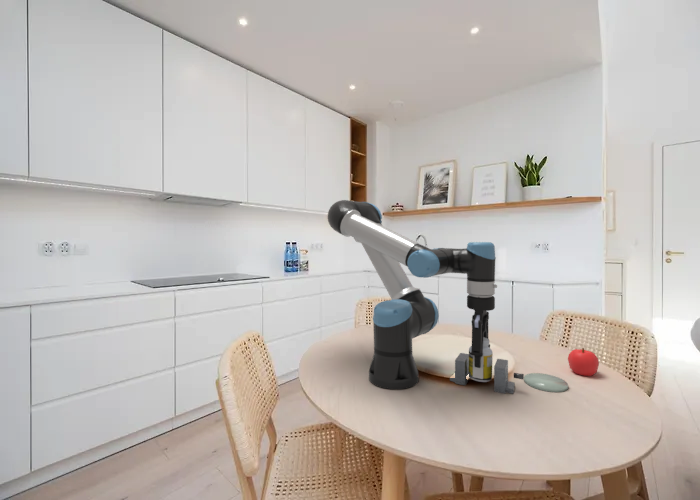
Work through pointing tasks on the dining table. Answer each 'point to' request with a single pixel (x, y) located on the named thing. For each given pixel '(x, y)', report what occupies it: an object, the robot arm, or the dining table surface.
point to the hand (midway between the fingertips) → (480, 373)
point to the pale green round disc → (546, 382)
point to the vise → (499, 374)
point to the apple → (583, 362)
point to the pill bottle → (486, 362)
